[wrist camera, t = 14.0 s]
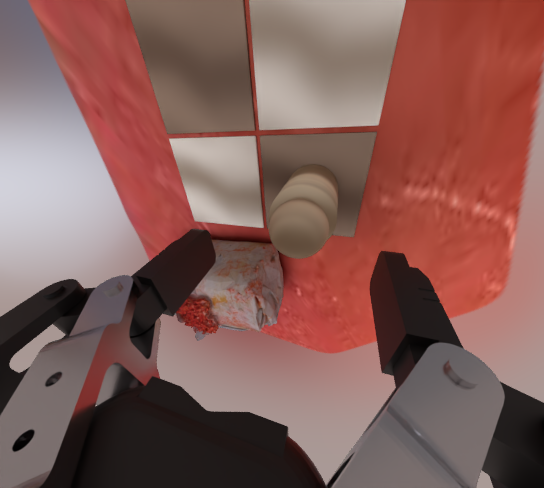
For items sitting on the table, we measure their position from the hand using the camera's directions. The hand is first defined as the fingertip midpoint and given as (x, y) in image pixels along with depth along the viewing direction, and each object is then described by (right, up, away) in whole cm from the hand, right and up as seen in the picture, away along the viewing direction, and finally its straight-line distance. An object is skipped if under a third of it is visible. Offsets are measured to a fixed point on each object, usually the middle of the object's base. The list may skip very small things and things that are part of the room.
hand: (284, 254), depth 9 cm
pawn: (+3, +5, +8) cm, 10 cm away
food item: (-5, -1, +16) cm, 17 cm away
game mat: (-2, +10, +6) cm, 12 cm away
